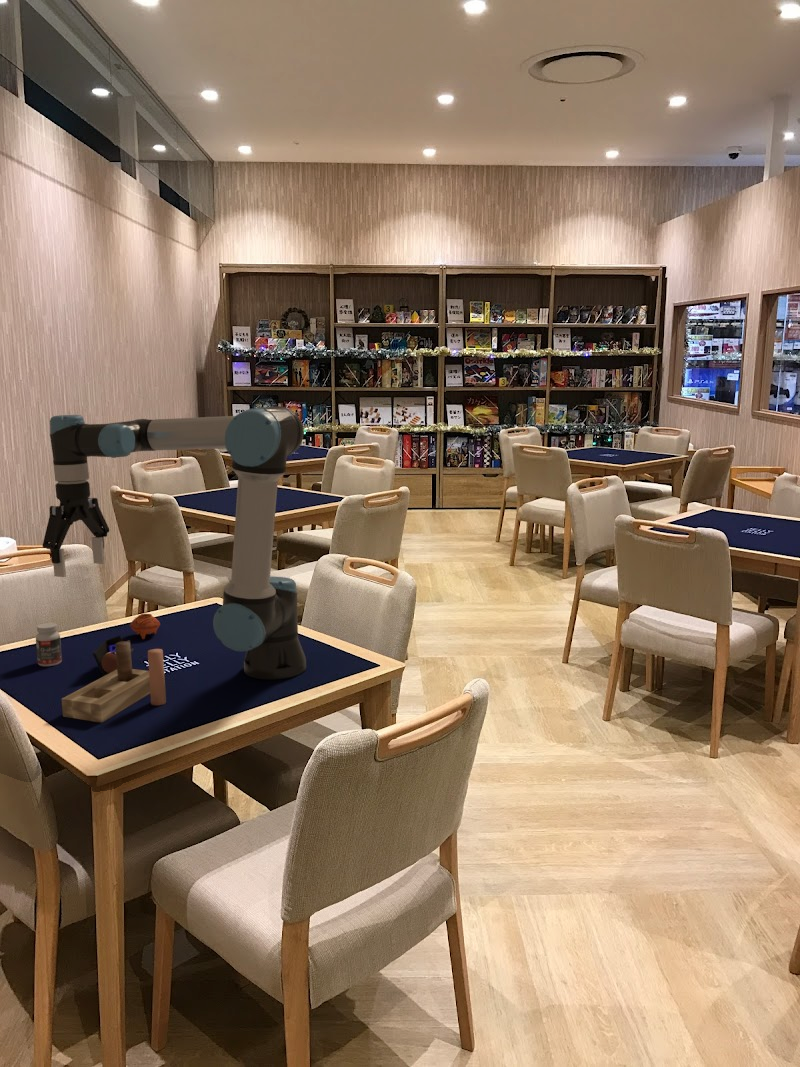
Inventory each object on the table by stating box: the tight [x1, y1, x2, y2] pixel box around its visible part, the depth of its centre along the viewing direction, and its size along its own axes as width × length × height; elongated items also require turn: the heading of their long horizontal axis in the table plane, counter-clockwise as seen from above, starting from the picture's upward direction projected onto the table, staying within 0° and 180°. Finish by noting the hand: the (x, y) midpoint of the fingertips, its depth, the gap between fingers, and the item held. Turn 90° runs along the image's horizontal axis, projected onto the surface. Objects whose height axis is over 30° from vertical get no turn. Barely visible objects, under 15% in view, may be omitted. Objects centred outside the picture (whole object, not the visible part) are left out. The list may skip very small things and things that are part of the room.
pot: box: [129, 613, 161, 640], centre depth 236 cm, size 8×8×7 cm
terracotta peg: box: [147, 648, 167, 706], centre depth 189 cm, size 3×3×12 cm
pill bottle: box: [35, 622, 63, 667], centre depth 215 cm, size 6×6×10 cm
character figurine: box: [92, 635, 135, 677], centre depth 210 cm, size 8×7×15 cm
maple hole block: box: [61, 668, 151, 723], centre depth 190 cm, size 10×20×4 cm, turn 161°
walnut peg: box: [115, 640, 133, 682], centre depth 194 cm, size 3×3×12 cm
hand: (80, 569), depth 205 cm, fingers open, 13 cm apart
